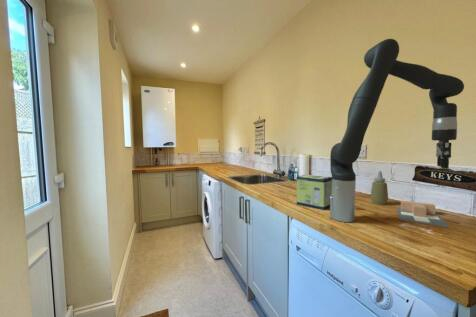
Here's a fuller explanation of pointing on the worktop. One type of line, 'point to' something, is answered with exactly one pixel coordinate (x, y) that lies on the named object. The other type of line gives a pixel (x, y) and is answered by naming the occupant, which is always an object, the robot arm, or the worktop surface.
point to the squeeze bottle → (379, 190)
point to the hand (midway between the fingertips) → (442, 167)
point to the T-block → (418, 208)
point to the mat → (422, 218)
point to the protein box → (314, 191)
